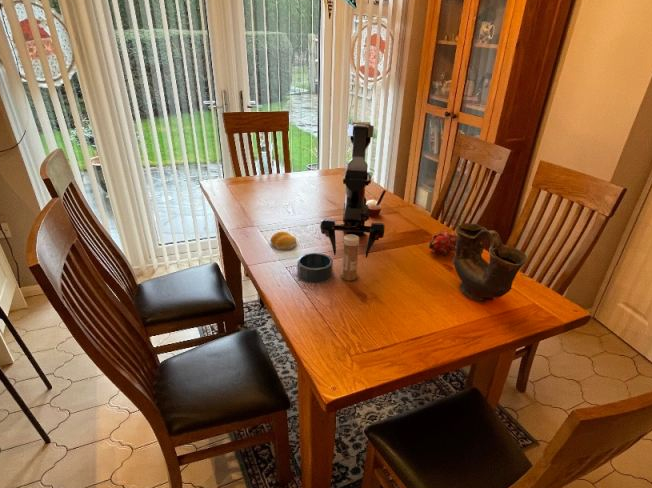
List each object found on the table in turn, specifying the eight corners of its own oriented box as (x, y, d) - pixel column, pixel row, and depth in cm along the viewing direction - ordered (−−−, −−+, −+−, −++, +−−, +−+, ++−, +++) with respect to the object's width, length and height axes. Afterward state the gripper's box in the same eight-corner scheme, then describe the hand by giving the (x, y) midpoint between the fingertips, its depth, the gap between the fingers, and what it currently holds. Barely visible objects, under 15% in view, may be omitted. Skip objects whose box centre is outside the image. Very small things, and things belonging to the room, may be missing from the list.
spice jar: (356, 281, 127) (359, 240, 120) (341, 280, 127) (343, 239, 120) (356, 273, 131) (359, 233, 124) (341, 273, 131) (343, 233, 124)
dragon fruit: (457, 254, 150) (429, 265, 146) (446, 234, 152) (418, 244, 148) (468, 243, 142) (439, 254, 138) (456, 222, 144) (427, 232, 140)
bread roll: (281, 252, 141) (281, 241, 139) (267, 242, 146) (266, 232, 144) (302, 246, 146) (301, 235, 143) (287, 237, 151) (287, 226, 149)
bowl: (324, 263, 136) (324, 251, 133) (337, 279, 128) (338, 266, 126) (293, 268, 132) (293, 256, 129) (304, 285, 124) (304, 271, 122)
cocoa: (362, 211, 176) (363, 183, 169) (376, 210, 177) (378, 182, 171) (370, 220, 168) (372, 191, 162) (384, 219, 170) (387, 190, 164)
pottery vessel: (438, 274, 133) (448, 215, 123) (466, 269, 137) (479, 211, 127) (488, 319, 114) (506, 253, 104) (520, 311, 118) (540, 247, 107)
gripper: (321, 192, 120) (316, 244, 116) (387, 196, 120) (384, 249, 116) (324, 208, 131) (319, 256, 127) (384, 212, 130) (381, 261, 127)
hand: (350, 256), depth 124 cm, fingers open, 9 cm apart
